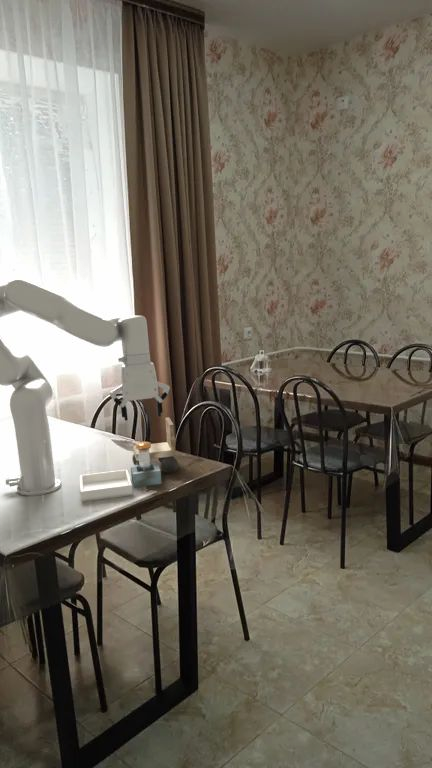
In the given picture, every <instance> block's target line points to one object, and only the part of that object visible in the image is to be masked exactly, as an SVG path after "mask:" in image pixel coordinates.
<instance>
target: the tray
mask: <svg viewBox="0 0 432 768" xmlns="http://www.w3.org/2000/svg"><path fill="white" fill-rule="evenodd" d="M129 473H130V472H129V471H128V469H119V470H112V471H110V470H109V471H103V472H95V473H88V474H80V475H79V483H80V498H81V502H82V503H85V502H90V501H98V500H105V499H106V500H107V499H113V498H114V499H115V498H120V497H121V498H122V497H129V495H130V496H133V483H132V479H131V477H130V474H129Z"/></svg>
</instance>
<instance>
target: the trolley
mask: <svg viewBox="0 0 432 768" xmlns="http://www.w3.org/2000/svg"><path fill="white" fill-rule="evenodd" d="M164 420H165V431H166V442H158V443H157V442H156V443H151V447H150V448H149V452H150V460H154V459H158V461H159V462H160V464H161V468H162V470H163V472H165V473H167V474H174V473H175V472H176V471H178V469H179V461H178V460H177V458H176V455H177V454H176V453H177V451H176V439H175V427H174V425H175V424H174V423H173V421H172V420H171V418H170V417H165V419H164ZM132 449H133V454H132V463H133V464H134V465H133V464H132V465H130V475H131V477H130V479H131V483H132V486H133V487H134V488H139V487H140V488H141V487H146V486H147V487H148V486H156V485H161V484H163V483H162V473H161V472H162V471H161V468H160V467H159V464H158V462H150V465H151V470H149V471H141V472H140V465H139V452H138V449H136V445H133V446H132Z"/></svg>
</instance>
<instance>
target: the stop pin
mask: <svg viewBox="0 0 432 768" xmlns="http://www.w3.org/2000/svg"><path fill="white" fill-rule="evenodd" d="M151 444H152V443H151V442H150V441H140V442H137V443H136V444H135V446H136V449H138V452H139V465H140V472H141V471H149V470H151V465H150V463H151V459H150V452H149V448H150V447H151Z"/></svg>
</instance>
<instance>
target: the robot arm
mask: <svg viewBox="0 0 432 768" xmlns="http://www.w3.org/2000/svg"><path fill="white" fill-rule="evenodd" d="M19 311H22V312H24V313H26V314H29V315H31V316H33V317H36V318H39V319H40V320H43V321H45V322H47V323H50V324H52V325H54V326H56V327H57V328H59V329H61V330H63V331H65V332H66V333H68V334H70V335H71V336H73V337H76V338H78V339H80V340H83V341H85V342H87V343H90V344H92V345H94V346H97V347H102V348H103V347H104V348H105V347H107V348H108V347H110V346H111V345H113V344H114V343H115V342H118V341H121V347H122V348H121V349H122V355H121V356H119V357H118V358H117V359H118V363H120V362H121V363H123V364H122V365H121V375H120V376H121V381H120V383H121V385H119V386H117V387H116V388H115V389H113V390H111V391H110V392H109V396H110V397H111V399H112V400H113V402H114V403H115V404H117V406H119V407H120V412H121V418H124V421H128V410H127V403H128V401H130V402H131V401H132V402H133V401H141V400H147V399H155V400H156V401H155V407H156V414H157V417H161V416H162V413H163V401H164V400H165V399H166V398H167V397H168V394H169V391H170V389H171V387H170V385H168V384H166V383H162V382H160V381H158V380H157V372H156V367H155V364H154V362H152V361H151V354H150V343H149V342H150V341H149V333H148V322H147V318H146V317H145V316H144V315H127V316H123V317H122V316H121V317H120V316H104V317H99V316H97V315H95V314H93V313H90V312H88V311H87V310H83V309H82V308H80V307H78V306H77V305H75V304H74V302H72V300H71V299H70V298H68V297H67V296H66V295H64V294H60V293H59V292H57V291H54V290H51V289H48V288H47V287H44V286H42V285H40V283H39V282H38V281H37V280H35V279H34V278H32V277H27V276H22V277H15V278H13V279H11V280H9V282H7V283H6V284H3V285H0V318H2V317H4V316H7V315H10V314H13V313H16V312H19ZM0 386H5V387H7V386H12V387H13V388H14V390H13V392H12V393H11V396H10V399H9V408H10V413H11V417H12V421H13V424H14V431H15V440H16V446H17V453H18V454H17V455H18V463H19V470H20V471H19V472H20V474H19V475H18V476H16V477H7V478H5V485H6V486H7V485H8V486H9V487H15V486H16V491H17V492H16V493H18V494H19V495H21V496H28V497H29V496H30V497H31V496H35V497H36V496H41V495H45V494H46V495H47V494H49V493H53V492H55V491H57V490H58V489H59V488H60V487H61V486H62V481H61V480H60V478H56V474H55V467H54V465H55V464H54V457H53V447H52V440H51V439H52V438H51V432H50V431H51V429H50V424H49V418H48V415H47V411H46V410H47V409H46V407H48V405H49V404H50V403H51V401H52V399H53V393H54V392H53V387H52V386H51V384H50V382H49V381H48V380H47V378H46V377H45V376H44V374H43V373H42V370H40V369H39V368H38V366H37V365H36V364H35V362H34V360H33V359H32V358H31V357H30V356H29V355H28V354H27V353H26V352H25V351H23V350H21V349H19V348H15V347H14V348H10V347H9V346H8V345H7V343H6V342H5V341H4V340H3V338H2V337H1V336H0ZM159 388H161V389H163V391H162V393H161V394H160V395H159ZM120 392H121V393H122V394H121V395H122V396H123V397H122V399H119V398H118V397H117V394H119V393H120Z"/></svg>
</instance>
